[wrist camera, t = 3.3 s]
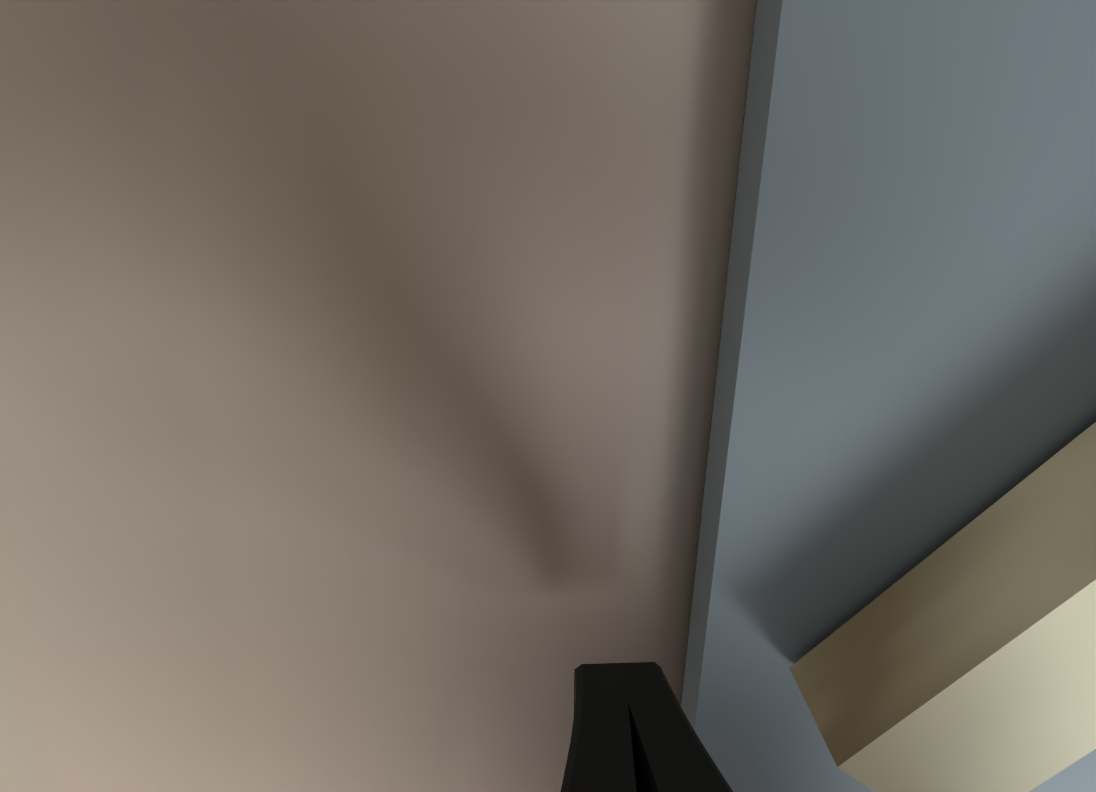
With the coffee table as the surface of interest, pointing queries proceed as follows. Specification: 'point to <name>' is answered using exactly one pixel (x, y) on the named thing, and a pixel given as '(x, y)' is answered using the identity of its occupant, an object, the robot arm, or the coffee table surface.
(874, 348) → the board
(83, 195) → the coffee table surface
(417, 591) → the coffee table surface
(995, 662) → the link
